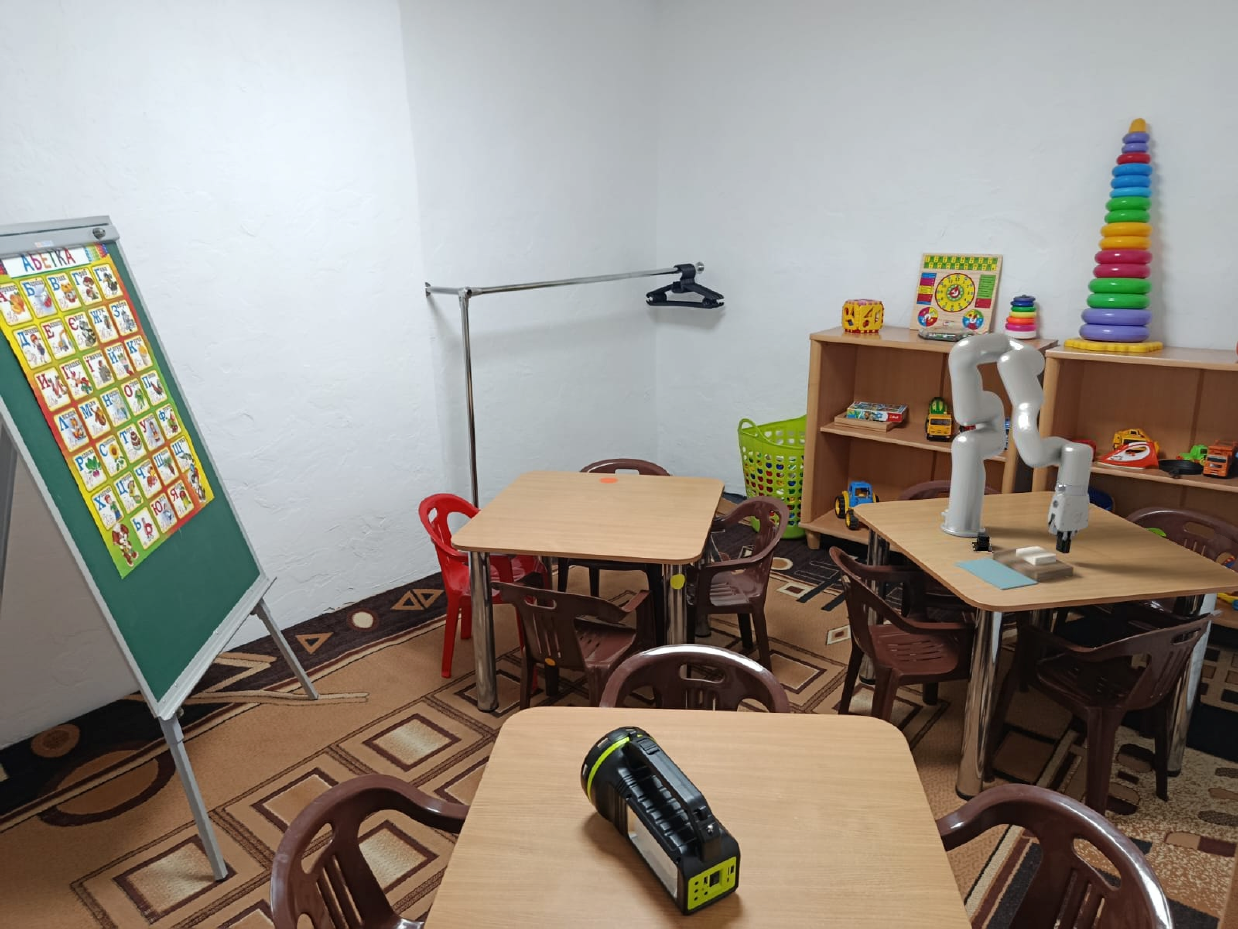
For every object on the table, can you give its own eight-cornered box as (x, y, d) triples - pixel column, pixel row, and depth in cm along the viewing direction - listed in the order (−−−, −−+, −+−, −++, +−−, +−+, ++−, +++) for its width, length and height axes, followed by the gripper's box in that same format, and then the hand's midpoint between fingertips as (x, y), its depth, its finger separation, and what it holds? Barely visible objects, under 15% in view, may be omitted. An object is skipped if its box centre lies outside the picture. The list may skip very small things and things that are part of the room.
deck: (992, 559, 233) (993, 551, 232) (1027, 554, 237) (1028, 546, 236) (1036, 582, 218) (1037, 573, 218) (1072, 575, 222) (1073, 567, 221)
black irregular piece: (967, 540, 249) (968, 526, 248) (993, 542, 247) (995, 528, 246) (971, 555, 238) (972, 540, 237) (998, 558, 236) (1000, 543, 234)
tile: (1015, 555, 229) (1016, 549, 229) (1036, 552, 231) (1036, 545, 231) (1034, 565, 223) (1035, 558, 222) (1055, 561, 225) (1056, 555, 224)
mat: (954, 564, 231) (955, 563, 230) (989, 558, 234) (989, 557, 234) (1001, 589, 214) (1002, 588, 214) (1038, 583, 217) (1038, 582, 217)
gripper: (1060, 495, 219) (1051, 560, 224) (1104, 489, 223) (1094, 553, 228) (1038, 487, 226) (1030, 550, 231) (1082, 482, 230) (1072, 543, 235)
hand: (1062, 551), depth 229 cm, fingers closed
